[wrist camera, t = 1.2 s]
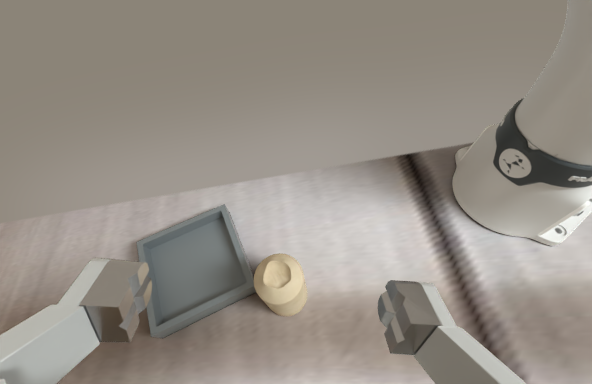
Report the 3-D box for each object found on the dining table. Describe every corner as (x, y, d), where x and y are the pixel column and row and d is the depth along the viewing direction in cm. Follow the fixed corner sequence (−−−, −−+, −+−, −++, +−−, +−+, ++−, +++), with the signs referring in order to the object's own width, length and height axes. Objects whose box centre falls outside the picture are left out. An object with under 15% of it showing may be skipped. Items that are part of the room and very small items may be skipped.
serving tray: (229, 212, 45) (224, 204, 43) (259, 290, 38) (255, 285, 36) (146, 248, 43) (136, 242, 41) (162, 338, 36) (150, 336, 34)
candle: (278, 325, 36) (264, 312, 27) (260, 287, 38) (242, 264, 30) (315, 302, 37) (312, 283, 28) (295, 267, 40) (287, 240, 31)
